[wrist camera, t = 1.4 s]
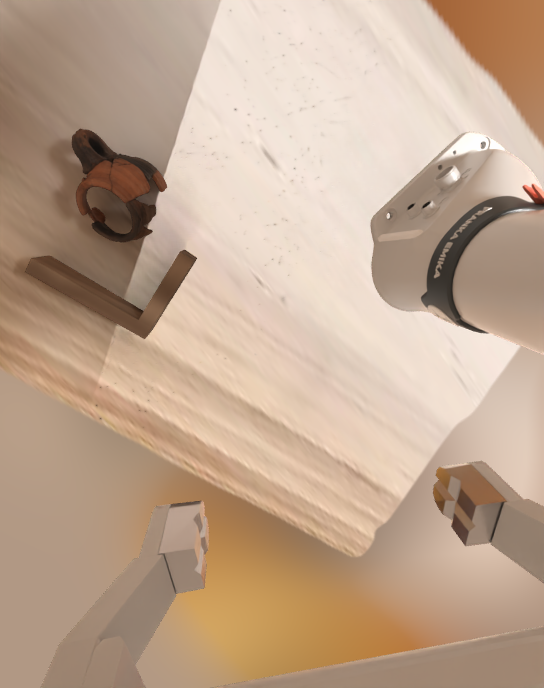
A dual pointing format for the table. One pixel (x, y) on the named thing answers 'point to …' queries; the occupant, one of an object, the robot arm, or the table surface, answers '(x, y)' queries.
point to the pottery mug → (115, 184)
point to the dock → (109, 302)
